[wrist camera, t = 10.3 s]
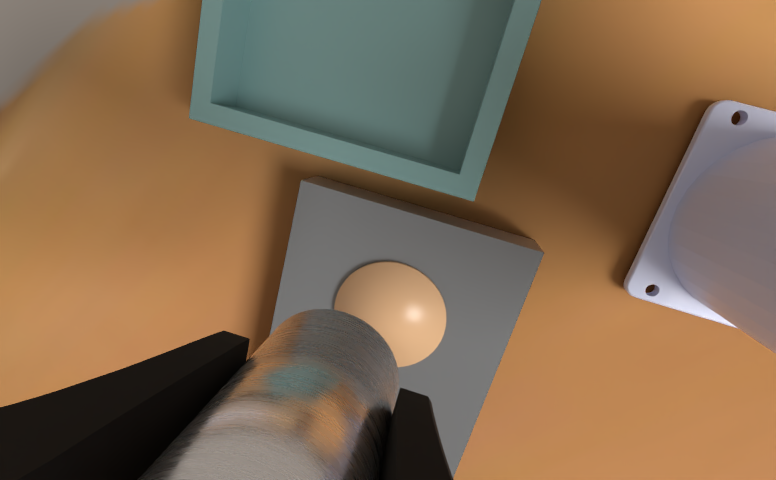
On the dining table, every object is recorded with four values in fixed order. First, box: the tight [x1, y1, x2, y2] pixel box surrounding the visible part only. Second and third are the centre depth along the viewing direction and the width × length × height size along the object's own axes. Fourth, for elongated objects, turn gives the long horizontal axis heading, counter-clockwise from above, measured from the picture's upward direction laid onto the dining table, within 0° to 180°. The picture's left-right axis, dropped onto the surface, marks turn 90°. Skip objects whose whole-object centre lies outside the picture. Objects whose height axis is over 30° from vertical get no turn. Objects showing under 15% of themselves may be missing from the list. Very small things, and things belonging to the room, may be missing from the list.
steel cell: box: [138, 309, 399, 480], centre depth 7 cm, size 3×3×6 cm
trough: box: [189, 0, 541, 202], centre depth 15 cm, size 12×12×2 cm
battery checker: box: [270, 176, 544, 477], centre depth 18 cm, size 10×18×4 cm, turn 165°
